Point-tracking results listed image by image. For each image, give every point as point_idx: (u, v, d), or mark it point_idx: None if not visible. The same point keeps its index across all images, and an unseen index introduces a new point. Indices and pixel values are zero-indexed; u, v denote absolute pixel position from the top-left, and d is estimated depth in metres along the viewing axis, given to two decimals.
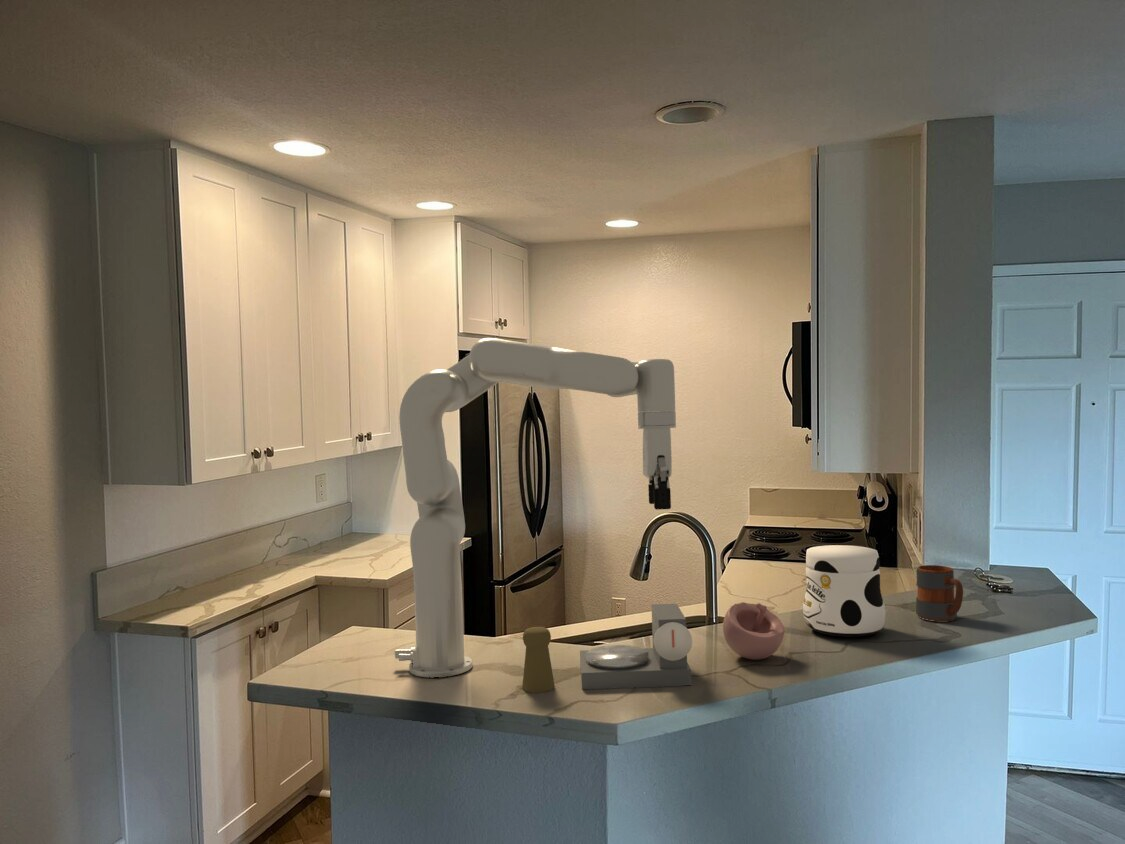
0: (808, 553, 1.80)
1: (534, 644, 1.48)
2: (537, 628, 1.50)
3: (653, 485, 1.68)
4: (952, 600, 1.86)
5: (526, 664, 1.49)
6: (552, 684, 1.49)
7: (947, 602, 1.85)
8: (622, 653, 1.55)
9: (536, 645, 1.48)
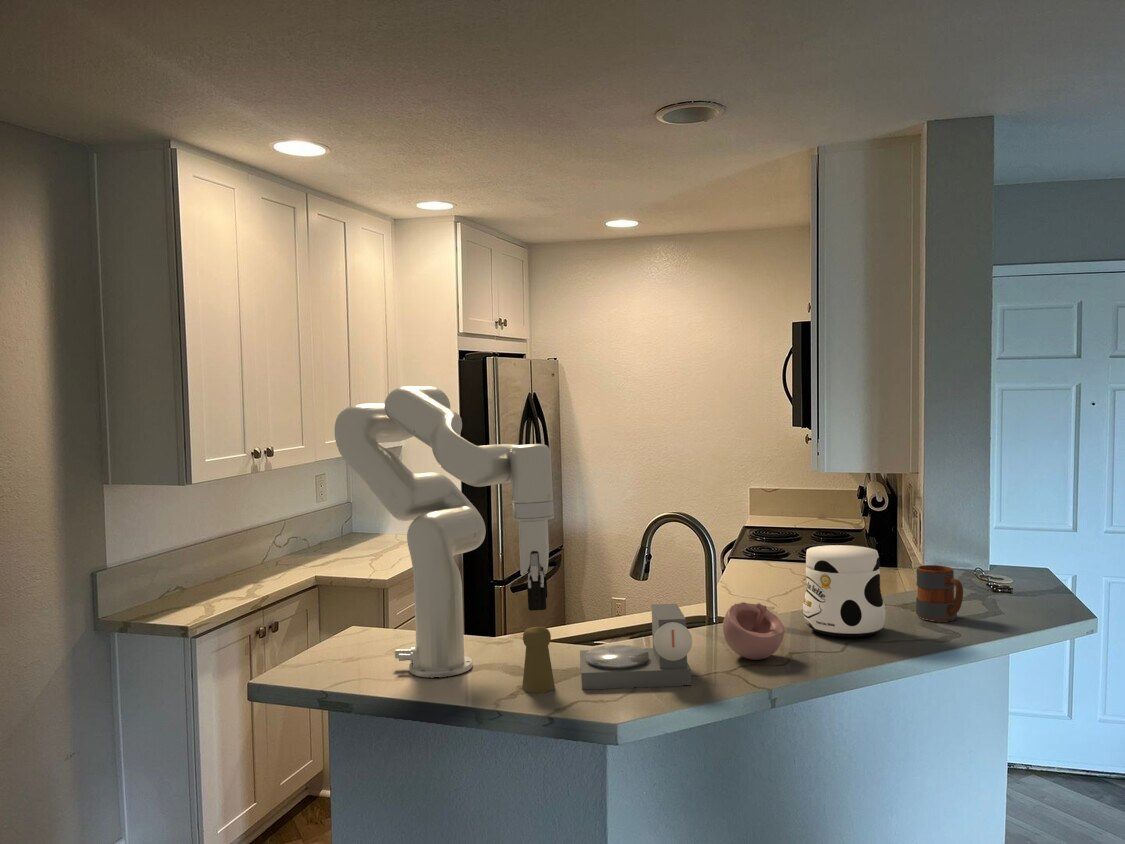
0: (808, 553, 1.80)
1: (534, 644, 1.48)
2: (537, 628, 1.50)
3: None
4: (952, 600, 1.86)
5: (526, 664, 1.49)
6: (552, 684, 1.49)
7: (947, 602, 1.85)
8: (622, 653, 1.55)
9: (536, 645, 1.48)
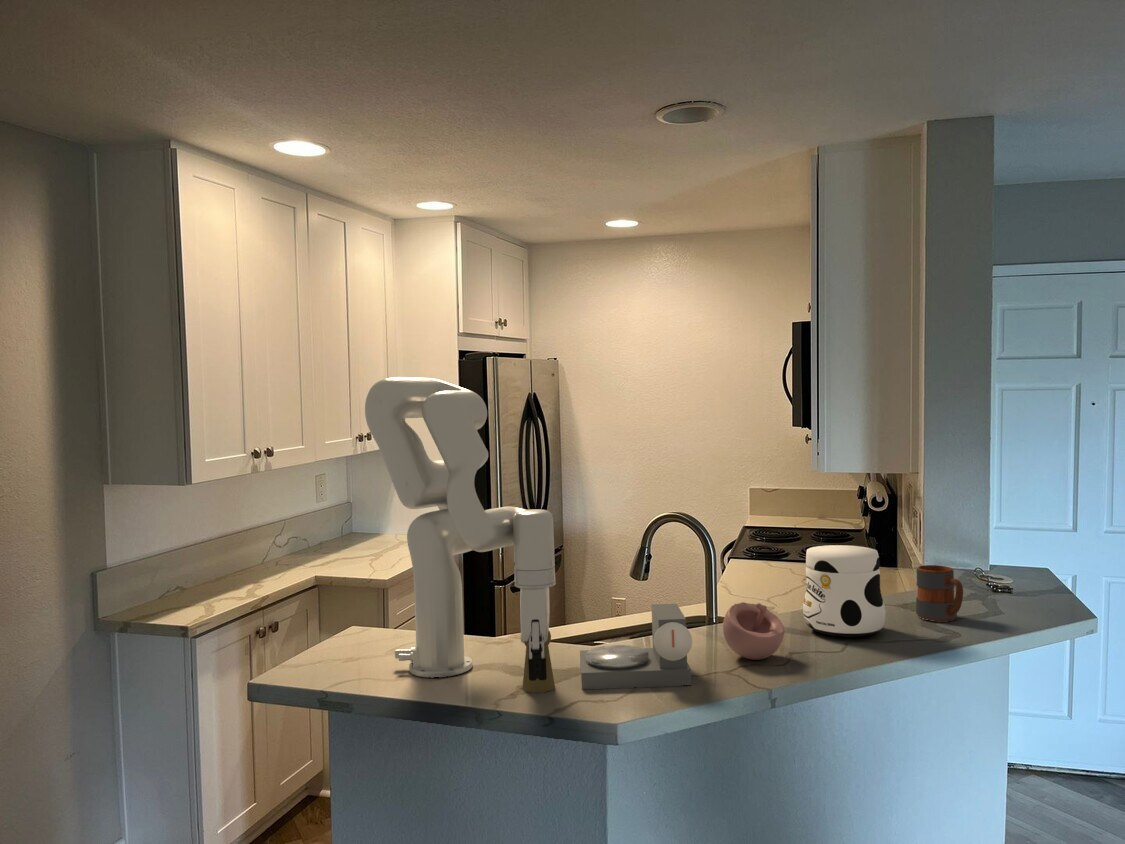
0: (808, 553, 1.80)
1: None
2: None
3: None
4: (952, 600, 1.86)
5: (526, 664, 1.49)
6: (552, 684, 1.49)
7: (947, 602, 1.85)
8: (622, 653, 1.55)
9: None
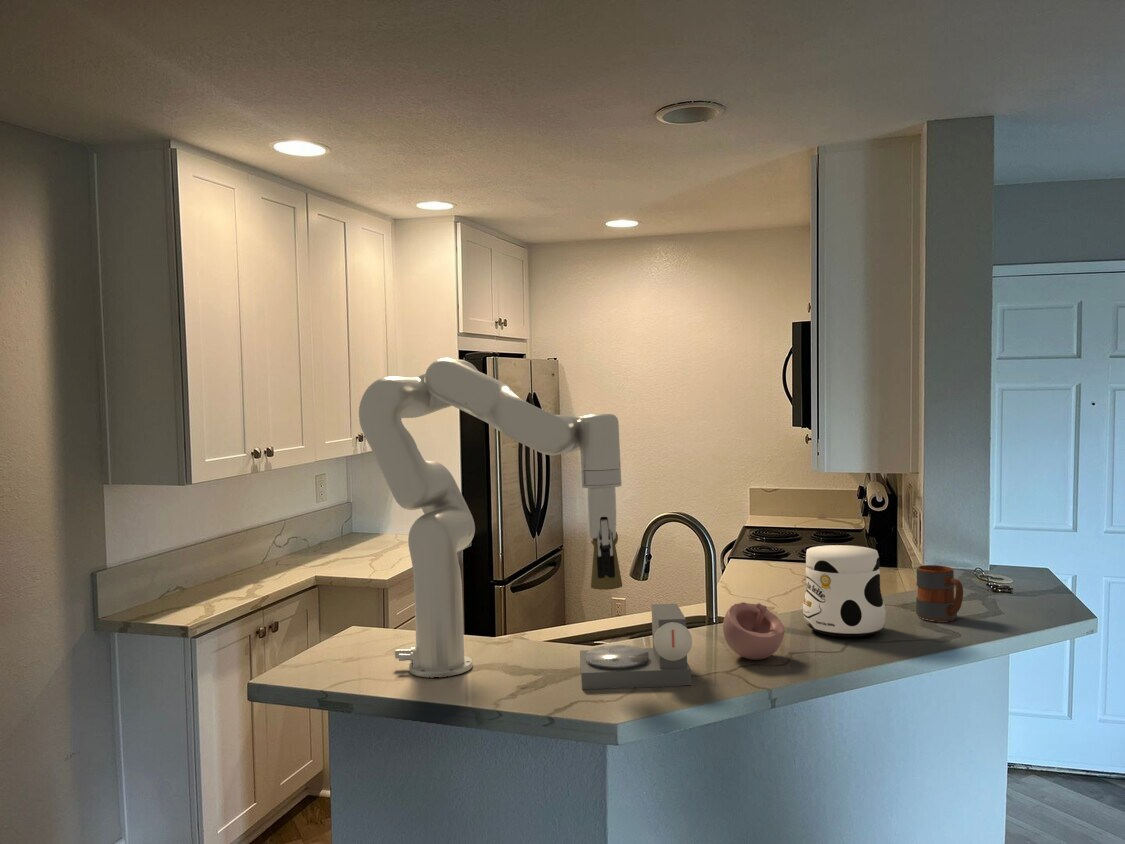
0: (808, 553, 1.80)
1: None
2: None
3: None
4: (952, 600, 1.86)
5: (594, 563, 1.53)
6: (620, 582, 1.53)
7: (947, 602, 1.85)
8: (622, 653, 1.55)
9: None
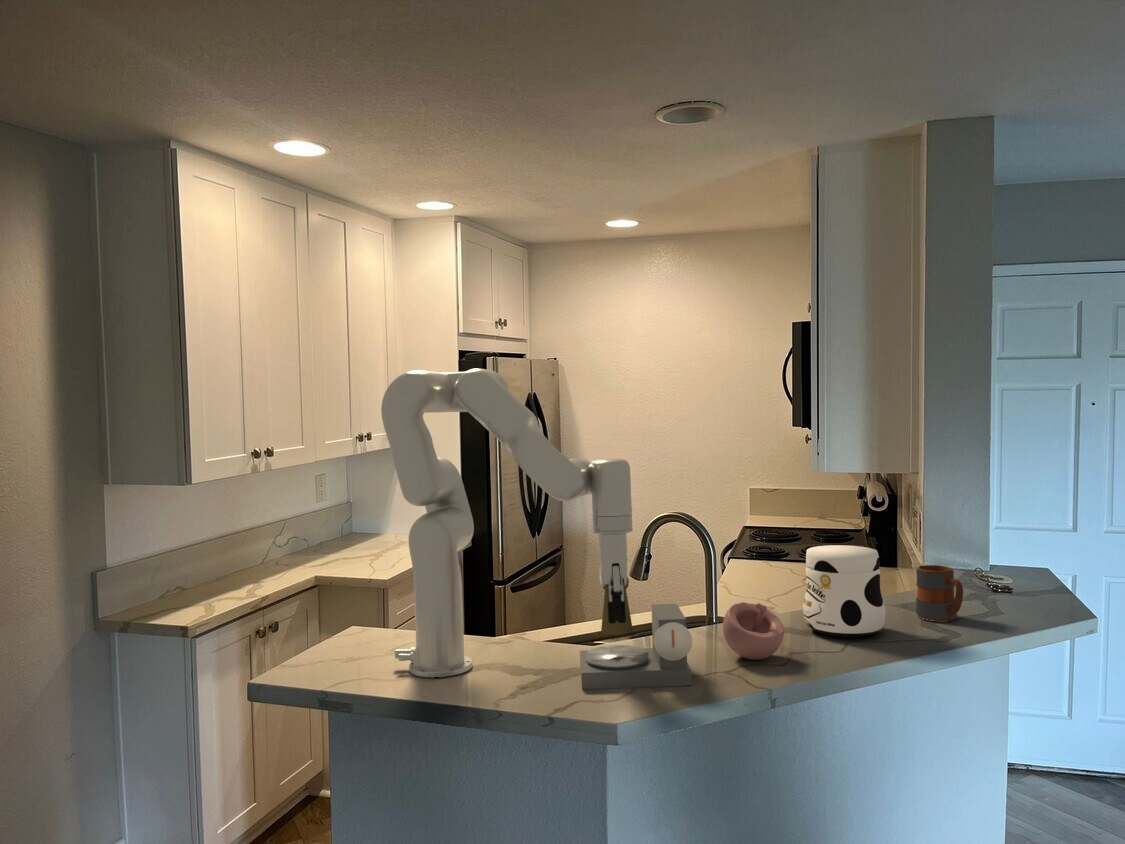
0: (808, 553, 1.80)
1: None
2: None
3: None
4: (952, 600, 1.86)
5: (605, 608, 1.54)
6: (631, 627, 1.54)
7: (947, 602, 1.85)
8: (622, 653, 1.55)
9: None
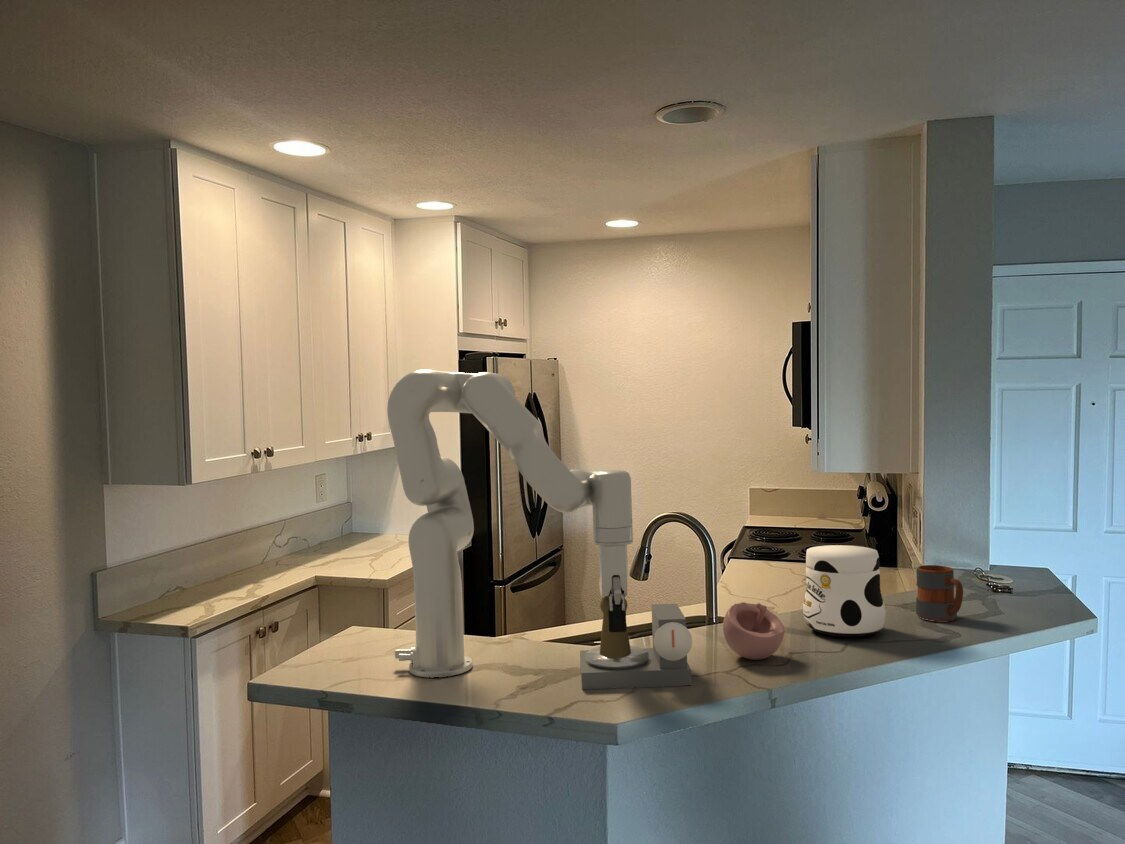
0: (808, 553, 1.80)
1: None
2: None
3: None
4: (952, 600, 1.86)
5: (604, 630, 1.55)
6: (629, 650, 1.55)
7: (947, 602, 1.85)
8: None
9: None
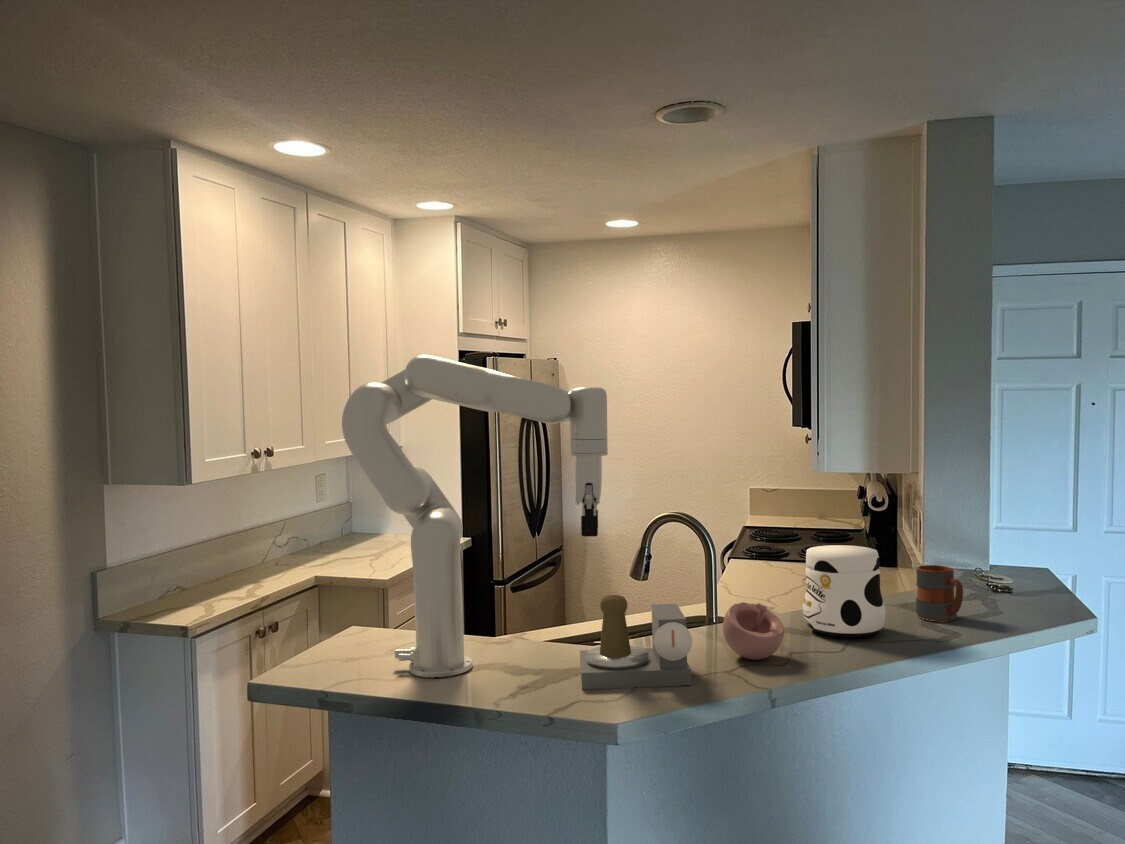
0: (808, 553, 1.80)
1: (612, 611, 1.54)
2: (614, 596, 1.56)
3: None
4: (952, 600, 1.86)
5: (604, 630, 1.55)
6: (629, 650, 1.55)
7: (947, 602, 1.85)
8: None
9: (614, 612, 1.54)
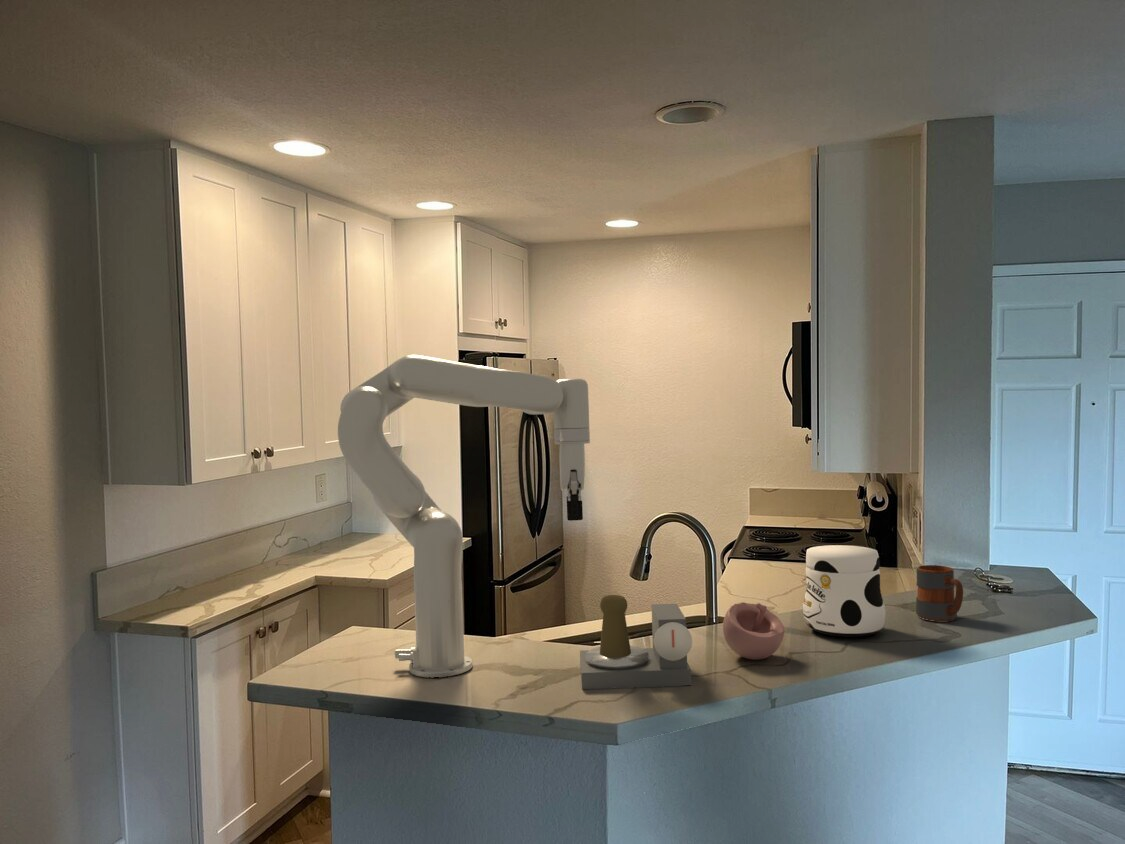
0: (808, 553, 1.80)
1: (612, 611, 1.54)
2: (614, 596, 1.56)
3: (571, 497, 1.78)
4: (952, 600, 1.86)
5: (604, 630, 1.55)
6: (629, 650, 1.55)
7: (947, 602, 1.85)
8: None
9: (614, 612, 1.54)
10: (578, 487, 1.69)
